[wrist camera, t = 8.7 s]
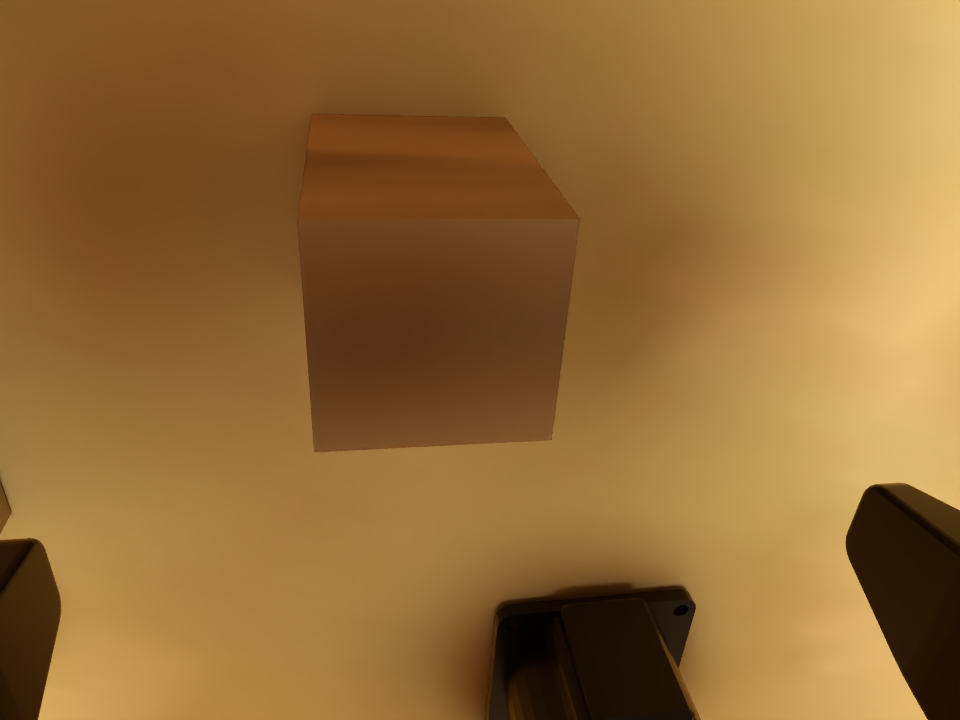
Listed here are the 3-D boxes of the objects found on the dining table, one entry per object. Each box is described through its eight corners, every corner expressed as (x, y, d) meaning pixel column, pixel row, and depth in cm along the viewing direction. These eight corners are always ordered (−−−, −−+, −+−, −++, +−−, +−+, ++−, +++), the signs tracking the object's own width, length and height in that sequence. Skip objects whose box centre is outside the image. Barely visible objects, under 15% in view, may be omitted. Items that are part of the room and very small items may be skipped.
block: (493, 288, 18) (551, 440, 13) (322, 291, 18) (313, 452, 12) (504, 117, 16) (579, 218, 11) (311, 113, 16) (297, 219, 10)
